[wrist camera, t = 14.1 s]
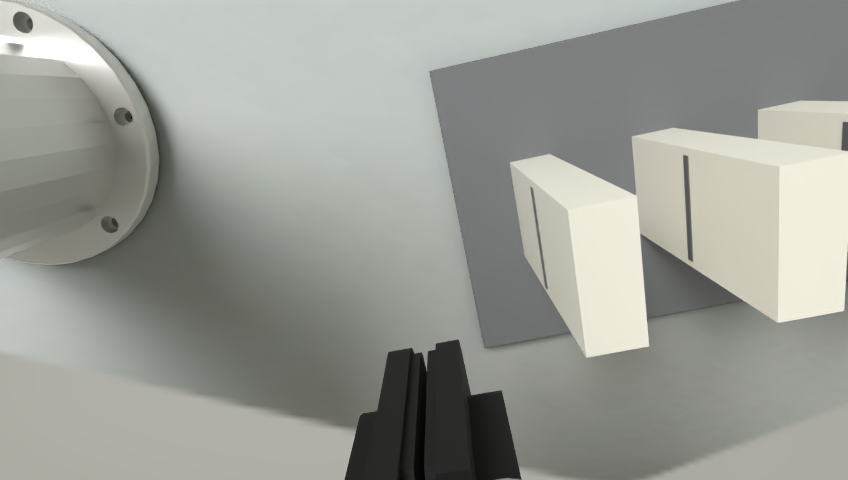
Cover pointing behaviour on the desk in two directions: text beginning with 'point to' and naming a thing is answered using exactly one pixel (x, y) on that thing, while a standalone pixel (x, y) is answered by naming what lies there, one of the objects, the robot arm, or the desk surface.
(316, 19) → the desk surface
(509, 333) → the domino mat
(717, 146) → the domino
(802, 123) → the domino
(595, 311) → the domino
